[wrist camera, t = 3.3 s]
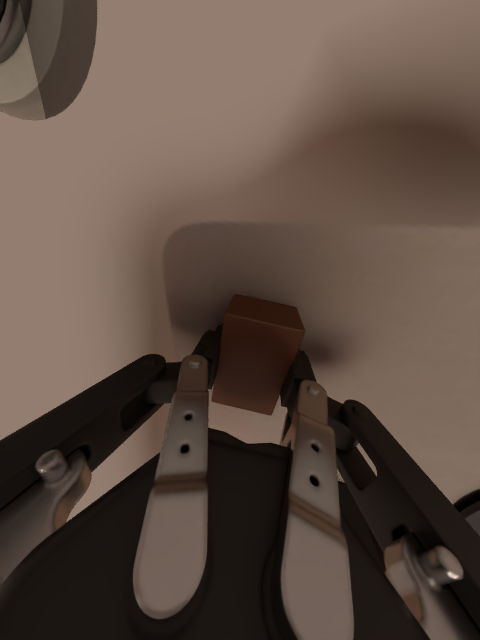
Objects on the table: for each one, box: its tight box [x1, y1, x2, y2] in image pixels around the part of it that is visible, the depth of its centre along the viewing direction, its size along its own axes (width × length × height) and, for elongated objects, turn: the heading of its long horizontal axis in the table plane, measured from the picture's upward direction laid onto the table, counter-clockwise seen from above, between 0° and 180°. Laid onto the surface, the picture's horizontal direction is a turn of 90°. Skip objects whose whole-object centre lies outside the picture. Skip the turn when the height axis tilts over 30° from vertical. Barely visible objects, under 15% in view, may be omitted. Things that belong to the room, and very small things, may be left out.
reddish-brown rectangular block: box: [212, 295, 305, 415], centre depth 12 cm, size 6×4×3 cm, turn 170°
